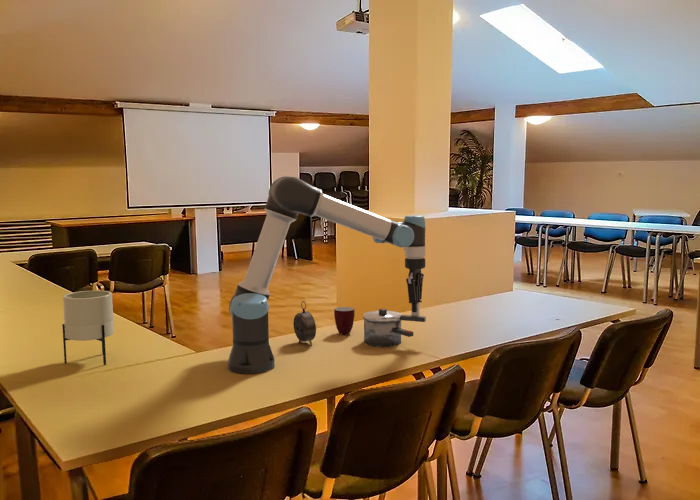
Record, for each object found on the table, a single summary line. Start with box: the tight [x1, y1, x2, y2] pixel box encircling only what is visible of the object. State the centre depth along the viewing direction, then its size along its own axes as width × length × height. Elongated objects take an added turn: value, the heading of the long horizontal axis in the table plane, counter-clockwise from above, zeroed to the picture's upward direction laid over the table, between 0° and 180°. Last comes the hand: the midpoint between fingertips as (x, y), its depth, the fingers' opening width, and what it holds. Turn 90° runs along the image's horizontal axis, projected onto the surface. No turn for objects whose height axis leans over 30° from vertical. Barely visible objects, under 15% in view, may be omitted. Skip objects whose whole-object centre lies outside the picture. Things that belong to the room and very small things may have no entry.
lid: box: [362, 308, 427, 323], centre depth 228 cm, size 15×24×3 cm, turn 70°
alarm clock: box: [293, 300, 317, 347], centre depth 228 cm, size 11×5×16 cm, turn 31°
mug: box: [333, 306, 355, 336], centre depth 242 cm, size 10×8×10 cm
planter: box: [62, 289, 115, 366], centre depth 207 cm, size 15×16×23 cm
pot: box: [363, 318, 414, 348], centre depth 227 cm, size 14×23×9 cm, turn 36°
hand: (415, 319), depth 228 cm, fingers closed
